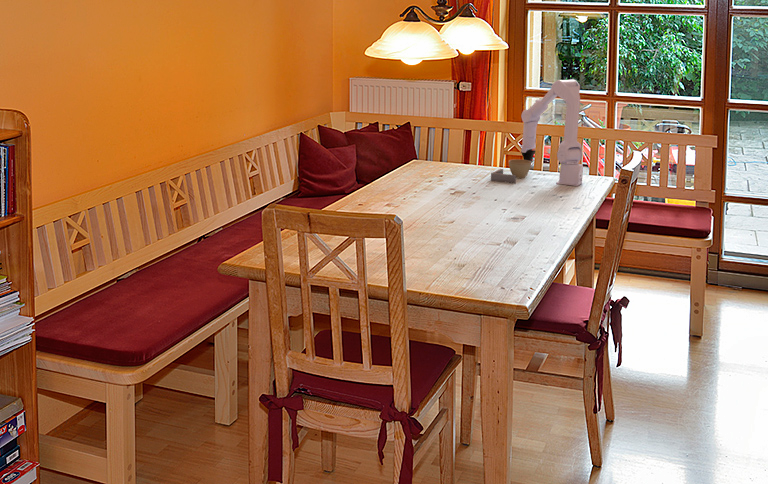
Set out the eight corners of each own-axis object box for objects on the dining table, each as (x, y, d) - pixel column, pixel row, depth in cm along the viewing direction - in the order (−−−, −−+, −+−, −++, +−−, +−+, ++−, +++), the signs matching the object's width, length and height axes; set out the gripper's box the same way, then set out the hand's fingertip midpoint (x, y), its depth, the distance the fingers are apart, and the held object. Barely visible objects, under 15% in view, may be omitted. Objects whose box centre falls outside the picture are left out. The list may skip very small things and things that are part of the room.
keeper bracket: (523, 179, 365) (524, 171, 364) (514, 183, 354) (515, 175, 353) (500, 176, 370) (500, 168, 369) (490, 181, 359) (491, 173, 358)
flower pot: (503, 176, 371) (504, 160, 369) (522, 174, 375) (523, 158, 373) (515, 180, 362) (516, 163, 360) (534, 178, 366) (536, 162, 365)
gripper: (525, 133, 382) (524, 162, 385) (515, 137, 369) (513, 167, 373) (540, 135, 378) (538, 164, 382) (530, 139, 366) (528, 169, 370)
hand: (527, 166), depth 377 cm, fingers closed
